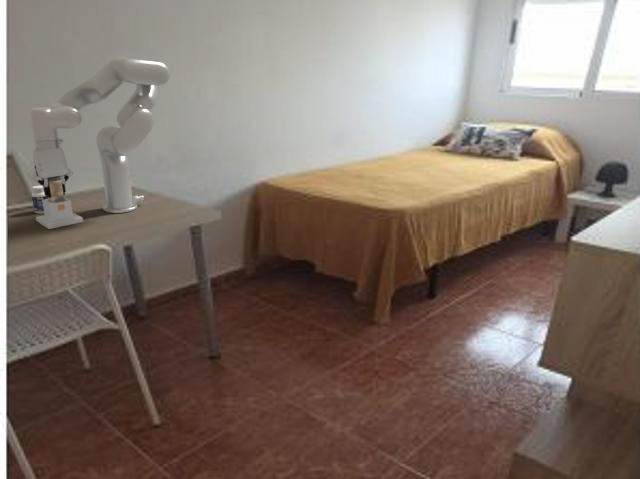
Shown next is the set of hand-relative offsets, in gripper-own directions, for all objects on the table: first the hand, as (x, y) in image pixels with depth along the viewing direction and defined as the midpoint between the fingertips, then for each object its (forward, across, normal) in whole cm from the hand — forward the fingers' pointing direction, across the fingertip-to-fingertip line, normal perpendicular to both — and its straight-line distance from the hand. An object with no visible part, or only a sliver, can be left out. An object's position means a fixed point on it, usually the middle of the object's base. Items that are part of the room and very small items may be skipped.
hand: (55, 195), depth 190 cm
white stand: (+10, 0, 0) cm, 10 cm away
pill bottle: (+10, 0, -16) cm, 19 cm away
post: (+8, 0, 0) cm, 8 cm away
